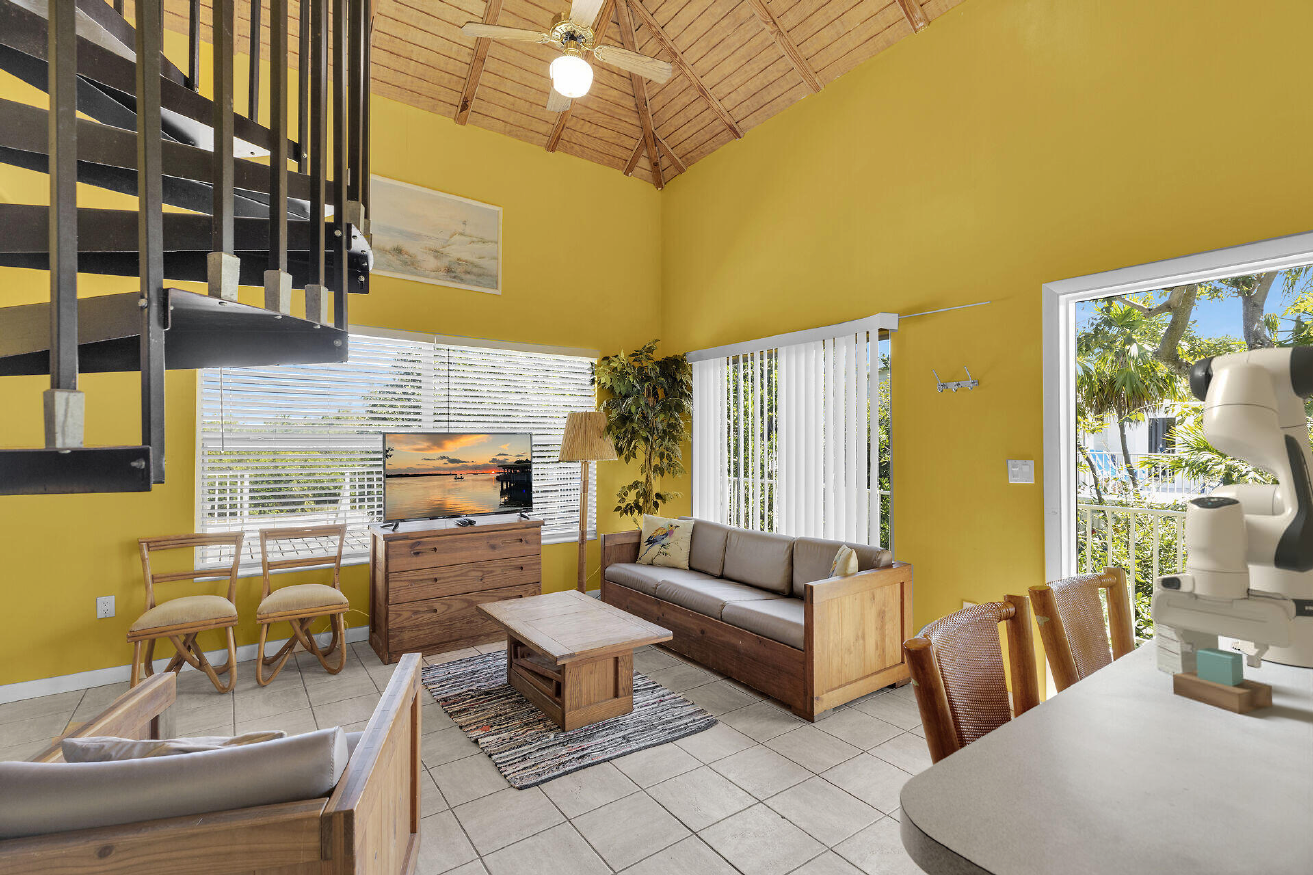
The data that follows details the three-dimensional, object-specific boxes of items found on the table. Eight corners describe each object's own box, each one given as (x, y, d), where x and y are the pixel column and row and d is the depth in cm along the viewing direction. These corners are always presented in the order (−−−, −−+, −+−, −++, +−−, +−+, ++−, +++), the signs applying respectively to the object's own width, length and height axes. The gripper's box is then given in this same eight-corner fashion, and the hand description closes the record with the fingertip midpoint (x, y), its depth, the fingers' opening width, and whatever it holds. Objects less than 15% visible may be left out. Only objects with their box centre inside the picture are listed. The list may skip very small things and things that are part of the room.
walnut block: (1206, 689, 120) (1205, 668, 120) (1272, 708, 110) (1271, 686, 111) (1173, 695, 116) (1172, 674, 116) (1238, 716, 107) (1237, 693, 107)
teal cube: (1209, 673, 117) (1207, 647, 117) (1243, 681, 113) (1242, 654, 113) (1197, 678, 115) (1196, 651, 115) (1232, 686, 110) (1231, 658, 110)
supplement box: (1193, 669, 130) (1190, 609, 130) (1221, 682, 123) (1219, 618, 123) (1155, 668, 131) (1153, 608, 131) (1181, 680, 123) (1179, 617, 124)
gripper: (1301, 593, 107) (1305, 673, 106) (1160, 574, 125) (1162, 642, 124) (1288, 596, 104) (1291, 679, 103) (1145, 577, 122) (1147, 647, 121)
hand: (1220, 659), depth 114 cm, fingers open, 8 cm apart
